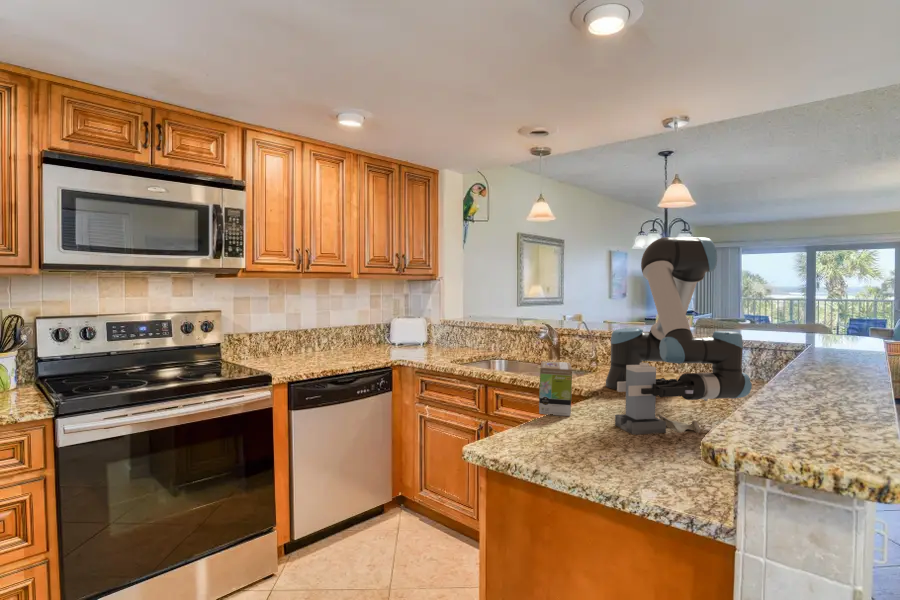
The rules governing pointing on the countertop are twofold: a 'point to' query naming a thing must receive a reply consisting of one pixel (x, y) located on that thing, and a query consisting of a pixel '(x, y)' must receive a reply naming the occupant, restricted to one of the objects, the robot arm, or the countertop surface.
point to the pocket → (640, 425)
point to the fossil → (680, 425)
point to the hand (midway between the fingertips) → (623, 388)
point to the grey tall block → (640, 404)
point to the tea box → (555, 388)
